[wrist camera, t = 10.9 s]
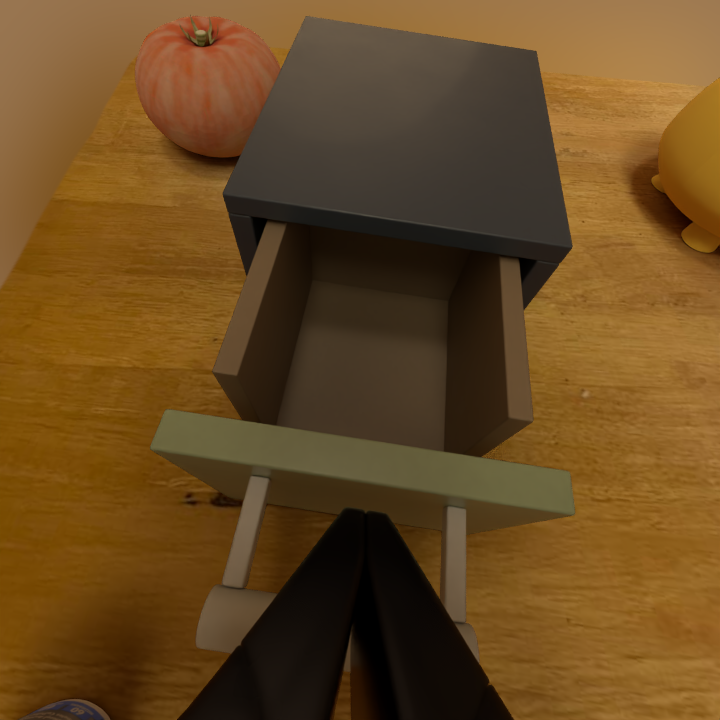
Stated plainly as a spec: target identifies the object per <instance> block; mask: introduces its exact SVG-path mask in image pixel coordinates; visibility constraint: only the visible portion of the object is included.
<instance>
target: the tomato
mask: <svg viewBox="0 0 720 720" xmlns="http://www.w3.org/2000/svg"><path fill="white" fill-rule="evenodd" d="M280 70H281V68H280V66H279V64H278V61H277V60H276V58H275V56H274V54H273V53H272V51H271V50H270V48H269V47H268V46H267V44H266V43H265V42H264V41H263V40H262V39H261V38H260V37H259V36H258V35H257V34H256V33H254V32H253V31H251V30H250V29H248V28H245V27H243V26H241V25H239V24H238V23H236V22H233V21H231V20H228V19H224V18H220V17H200V16H192V17H191V16H190V17H183V18H180V19H177V20H175V21H173V22H170V23H166V24H164V25H162V26H160V27H158V28H157V29H155V30H154V31H153V32H151V33H150V34H149V35H148V36H147V37H146V38H145V40H144V41H143V44H142V46H141V49H140V52H139V55H138V57H137V60H136V68H135V80H136V86H137V91H138V94H139V98H140V101H141V103H142V106H143V108H144V110H145V112H146V114H147V115H148V117H149V118H150V120H151V121H152V122H153V124H154V125H155V126H156V127H157V128H158V129H159V130H160V131H161V132H162V133H163V134H164V135H165V136H166V137H168V138H169V139H170V140H171V141H173V142H174V143H176V144H177V145H179V146H180V147H182V148H184V149H186V150H189V151H191V152H194V153H197V154H200V155H205V156H211V157H234V156H239V155H241V153H242V151H243V149H244V147H245V145H246V142H247V140H248V138H249V136H250V134H251V132H252V130H253V128H254V125H255V123H256V121H257V119H258V117H259V115H260V113H261V111H262V108H263V106H264V104H265V102H266V100H267V98H268V96H269V94H270V91H271V89H272V87H273V85H274V83H275V81H276V79H277V77H278V74H279V72H280Z"/></svg>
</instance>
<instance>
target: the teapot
mask: <svg viewBox="0 0 720 720" xmlns="http://www.w3.org/2000/svg"><path fill="white" fill-rule="evenodd" d="M658 164H659V174H658V175H656V176H654V177H652V180H651V181H652V184H653V186H654V187H655V188H656V189H658V190H659V191H661V192H663V193H665V194H667V195H668V197H669V198H670V200H671V201H672V202H673V203H674V205H675V206H676V207H677V208H678V209H679V210H680V211H681V212H682V213H683V214H685V215H686V216H687V217H688V218H689V219H690V220H692V221H693V223H691V224H690V225H689V226H688V227H686V228H685V229H684V230H683V231H682V233H681V235H682V238H683V240H684V242H685V243H686V244H687V245H689V246H690V247H691V248H693V249H695V250H697V251H700V252H705V253H709V252H713V251H714V250H715V249H716V248H717V247H718V246H719V245H720V78H718V79H717V80H716V81H714V82H713V83H712V84H710V85H709V86H708V87H706V88H705V89H704V90H703V91H702V92H701V93H699V94H698V95H697V96H696V97H695V98H694V99H693V100H692V101H690V102H689V103H688V104H687V105H686V106H685V107H684V108H683V109H682V110H681V111H680V112H679V113H678V115H677V116H676V117H675V118H674V119H673V120H672V122H671V123H670V124H669V125H668V126H667V128H666V129H665V131H664V133H663V135H662V137H661V140H660V143H659V152H658Z"/></svg>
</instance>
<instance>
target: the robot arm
mask: <svg viewBox="0 0 720 720" xmlns="http://www.w3.org/2000/svg"><path fill="white" fill-rule="evenodd" d="M350 635H351V640H350ZM349 640H350V686H351V720H514V719H513V717H512V716H511V714H510V713H509V711H508V709H507V708H506V706H505V705H504V703H503V701H502V700H501V698H500V696H499V695H498V693H497V692H496V690H495V688H494V687H493V686H492V685H488V684H489V679H488V677H487V676H486V674H485V672H484V671H483V669H482V667H481V666H480V664H479V662H478V661H477V659H476V658H475V656H474V654H473V653H472V651H471V649H470V648H469V646H468V645H467V643H466V641H465V640H464V638H463V636H462V635H461V633H460V631H459V630H458V628H457V627H456V625H455V623H454V622H453V620H452V618H451V617H450V615H449V614H448V612H447V610H446V609H445V607H444V605H443V604H442V602H441V600H440V599H439V597H438V596H437V594H436V592H435V591H434V589H433V587H432V586H431V584H430V582H429V581H428V579H427V578H426V576H425V574H424V573H423V571H422V569H421V568H420V566H419V565H418V563H417V561H416V560H415V558H414V556H413V555H412V553H411V551H410V550H409V548H408V547H407V545H406V543H405V542H404V540H403V538H402V537H401V535H400V533H399V532H398V530H397V529H396V527H395V525H394V524H393V522H392V520H391V519H390V517H389V516H388V514H386V513H384V512H378V511H371V510H368V511H367V512H366V513H365V511H364V510H363V509H358V508H352V507H345V508H344V509H343V510H342V511H341V512H340V514H339V515H338V516H337V518H336V519H335V520H334V522H333V523H332V524H331V525H330V527H329V528H328V529H327V531H326V532H325V533H324V534H323V536H322V537H321V538H320V540H319V541H318V542H317V544H316V545H315V546H314V547H313V549H312V550H311V551H310V553H309V554H308V555H307V557H306V558H305V559H304V560H303V562H302V563H301V564H300V566H299V567H298V568H297V570H296V571H295V572H294V573H293V575H292V576H291V577H290V579H289V580H288V581H287V582H286V584H285V585H284V586H283V588H282V589H281V590H280V592H279V593H278V594H277V595H276V597H275V598H274V599H273V601H272V602H271V603H270V605H269V606H268V607H267V608H266V610H265V611H264V612H263V614H262V615H261V616H260V617H259V619H258V620H257V621H256V623H255V624H254V625H253V627H252V628H251V629H250V630H249V632H248V633H247V634H246V636H245V637H244V638H243V640H242V641H241V645H238V646H237V647H236V648H235V649H234V651H233V652H232V653H231V655H230V656H229V657H228V659H227V660H226V661H225V662H224V664H223V665H222V666H221V668H220V669H219V670H218V671H217V673H216V674H215V675H214V676H213V678H212V679H211V680H210V681H209V682H208V684H207V685H206V686H205V687H204V689H203V690H202V691H201V692H200V693H199V695H198V696H197V697H196V698H195V700H194V701H193V702H192V703H191V704H190V706H189V707H188V708H187V709H186V710H185V711H184V713H183V714H182V715H181V716H180V717H179V718H178V719H177V720H333V719H334V714H335V709H336V704H337V699H338V694H339V690H340V685H341V680H342V675H343V670H344V666H345V661H346V656H347V651H348V645H349Z"/></svg>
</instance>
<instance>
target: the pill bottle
mask: <svg viewBox="0 0 720 720" xmlns="http://www.w3.org/2000/svg"><path fill="white" fill-rule="evenodd" d="M19 720H110V718H109V716H108V715H107V714H106V713H105V712H104V711H103V709H101V708H100V707H98V706H97V705H95V704H93V703H91V702H89V701H86V700H81V699H69V700H63V701H59V702H55V703H52V704H49V705H47V706H45V707H43V708H40V709H38V710H36V711H34V712H32V713H30V714H28V715H26V716H24V717H22V718H20V719H19Z"/></svg>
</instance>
